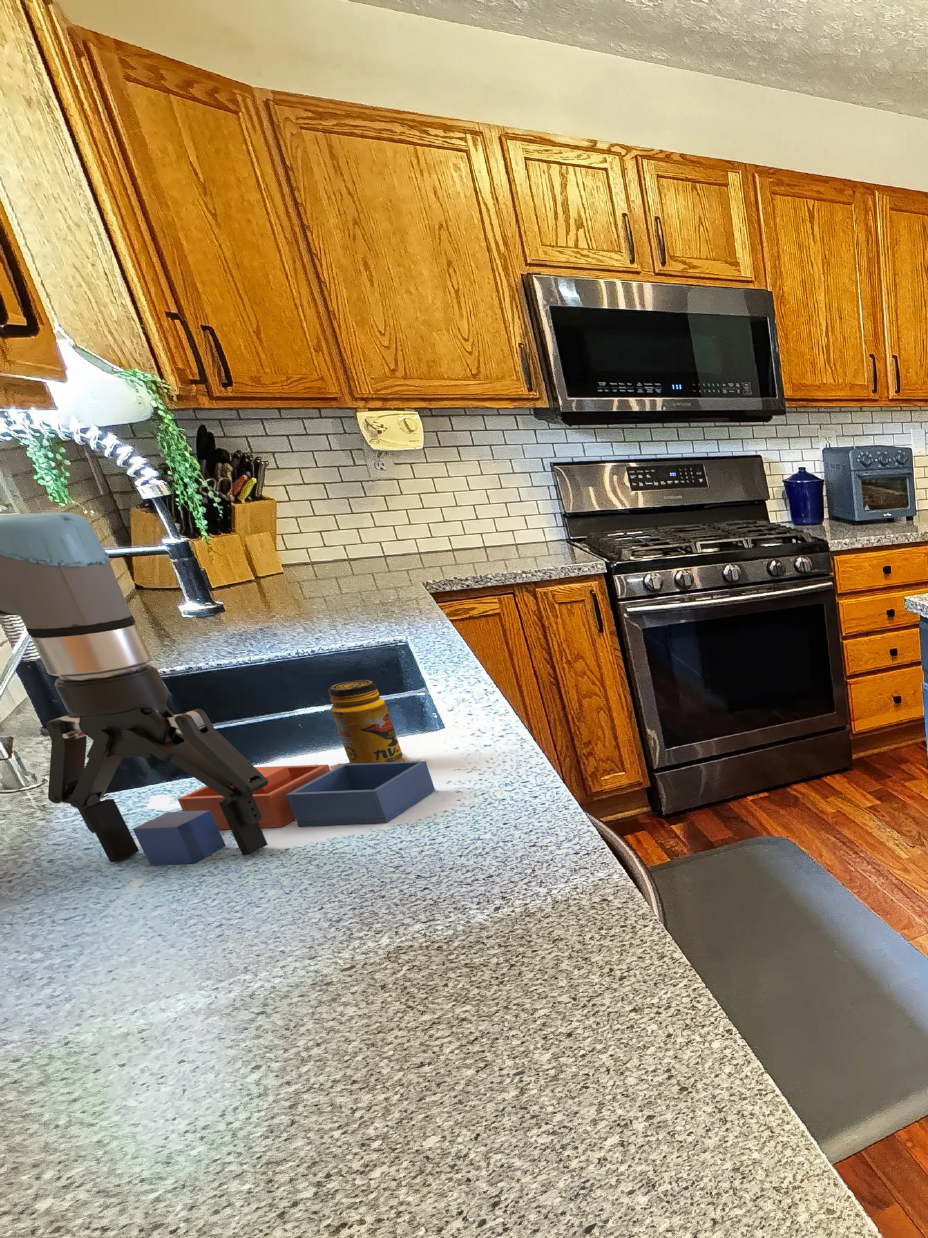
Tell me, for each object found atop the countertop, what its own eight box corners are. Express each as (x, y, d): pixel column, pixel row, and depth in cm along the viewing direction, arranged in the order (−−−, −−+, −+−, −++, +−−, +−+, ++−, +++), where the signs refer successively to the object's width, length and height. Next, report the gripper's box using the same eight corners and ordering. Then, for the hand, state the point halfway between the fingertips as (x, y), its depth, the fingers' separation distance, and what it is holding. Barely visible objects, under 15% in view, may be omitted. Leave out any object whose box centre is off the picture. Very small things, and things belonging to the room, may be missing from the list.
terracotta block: (234, 815, 106) (220, 781, 104) (262, 800, 110) (249, 767, 108) (273, 813, 106) (260, 780, 104) (300, 799, 110) (287, 766, 108)
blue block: (149, 865, 95) (132, 828, 93) (184, 847, 99) (168, 811, 97) (193, 863, 95) (176, 827, 93) (226, 845, 99) (210, 810, 98)
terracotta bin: (191, 831, 103) (177, 798, 101) (256, 797, 112) (244, 767, 111) (282, 827, 104) (269, 795, 102) (339, 793, 113) (328, 764, 111)
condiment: (412, 766, 122) (385, 684, 118) (337, 782, 117) (306, 697, 112) (402, 753, 127) (376, 674, 122) (330, 768, 122) (299, 686, 117)
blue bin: (298, 826, 104) (285, 794, 102) (354, 793, 113) (343, 763, 112) (387, 822, 105) (375, 791, 103) (435, 790, 114) (425, 760, 112)
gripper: (261, 656, 93) (330, 832, 101) (9, 666, 91) (102, 844, 100) (203, 675, 86) (283, 862, 95) (-69, 685, 84) (37, 875, 93)
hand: (190, 854), depth 97 cm, fingers open, 13 cm apart
